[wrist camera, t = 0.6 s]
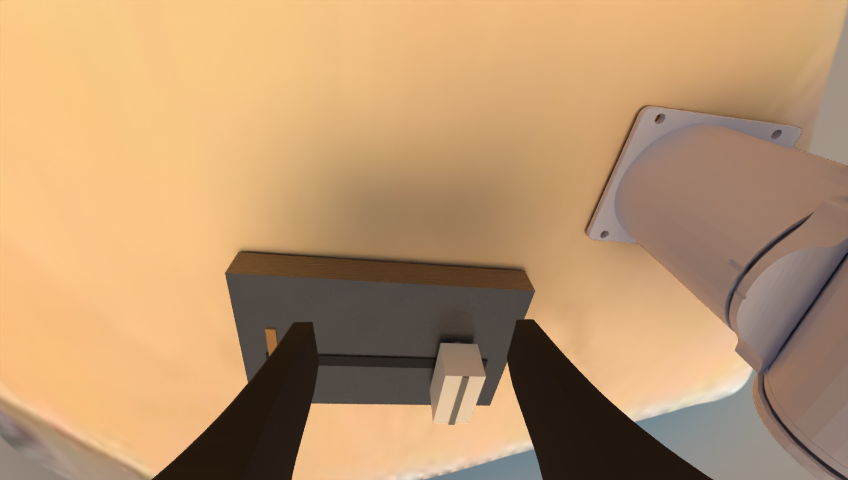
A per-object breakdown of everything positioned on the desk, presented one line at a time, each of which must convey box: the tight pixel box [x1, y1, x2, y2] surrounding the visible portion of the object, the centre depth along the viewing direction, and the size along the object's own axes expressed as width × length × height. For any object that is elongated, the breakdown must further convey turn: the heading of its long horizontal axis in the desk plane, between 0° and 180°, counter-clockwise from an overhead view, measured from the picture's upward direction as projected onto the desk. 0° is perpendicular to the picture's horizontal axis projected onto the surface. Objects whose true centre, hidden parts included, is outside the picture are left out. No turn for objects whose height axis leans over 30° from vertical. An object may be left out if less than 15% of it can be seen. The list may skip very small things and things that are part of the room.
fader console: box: [225, 252, 535, 406], centre depth 24 cm, size 18×12×2 cm, turn 82°
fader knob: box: [430, 343, 486, 425], centre depth 23 cm, size 2×5×3 cm, turn 172°
